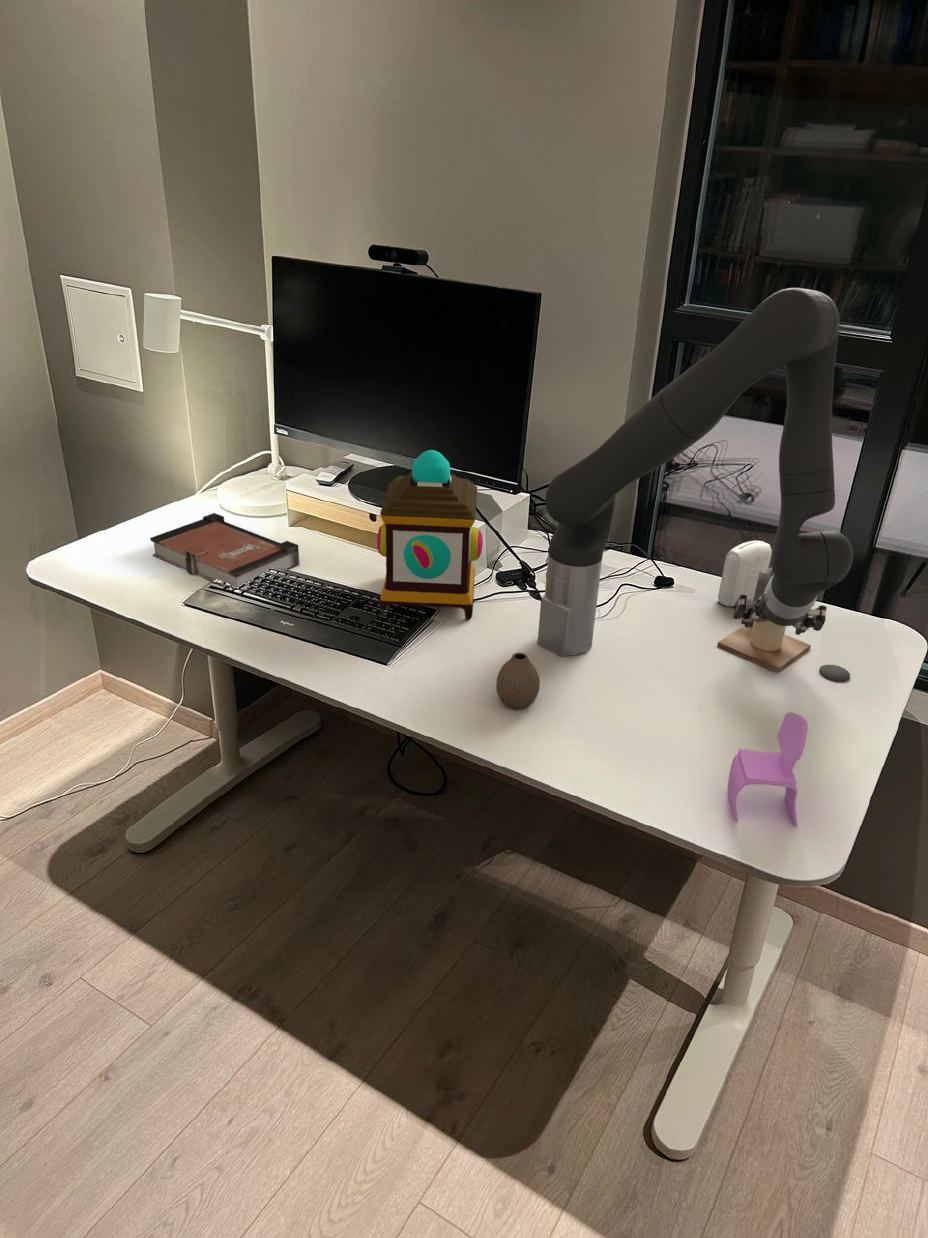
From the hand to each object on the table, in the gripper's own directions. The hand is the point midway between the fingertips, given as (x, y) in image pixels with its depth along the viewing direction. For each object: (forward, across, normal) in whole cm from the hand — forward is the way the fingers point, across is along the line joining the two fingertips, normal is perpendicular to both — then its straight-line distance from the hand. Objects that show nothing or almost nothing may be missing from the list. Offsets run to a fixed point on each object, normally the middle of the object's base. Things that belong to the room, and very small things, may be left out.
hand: (772, 625), depth 156 cm
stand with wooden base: (+9, -1, +1) cm, 9 cm away
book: (+9, +109, +1) cm, 109 cm away
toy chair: (-25, +2, +35) cm, 43 cm away
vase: (-14, +40, +24) cm, 48 cm away
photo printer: (+21, +4, -11) cm, 24 cm away
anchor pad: (+4, -12, +6) cm, 14 cm away
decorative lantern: (+7, +63, +2) cm, 64 cm away
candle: (+7, 0, +2) cm, 7 cm away
